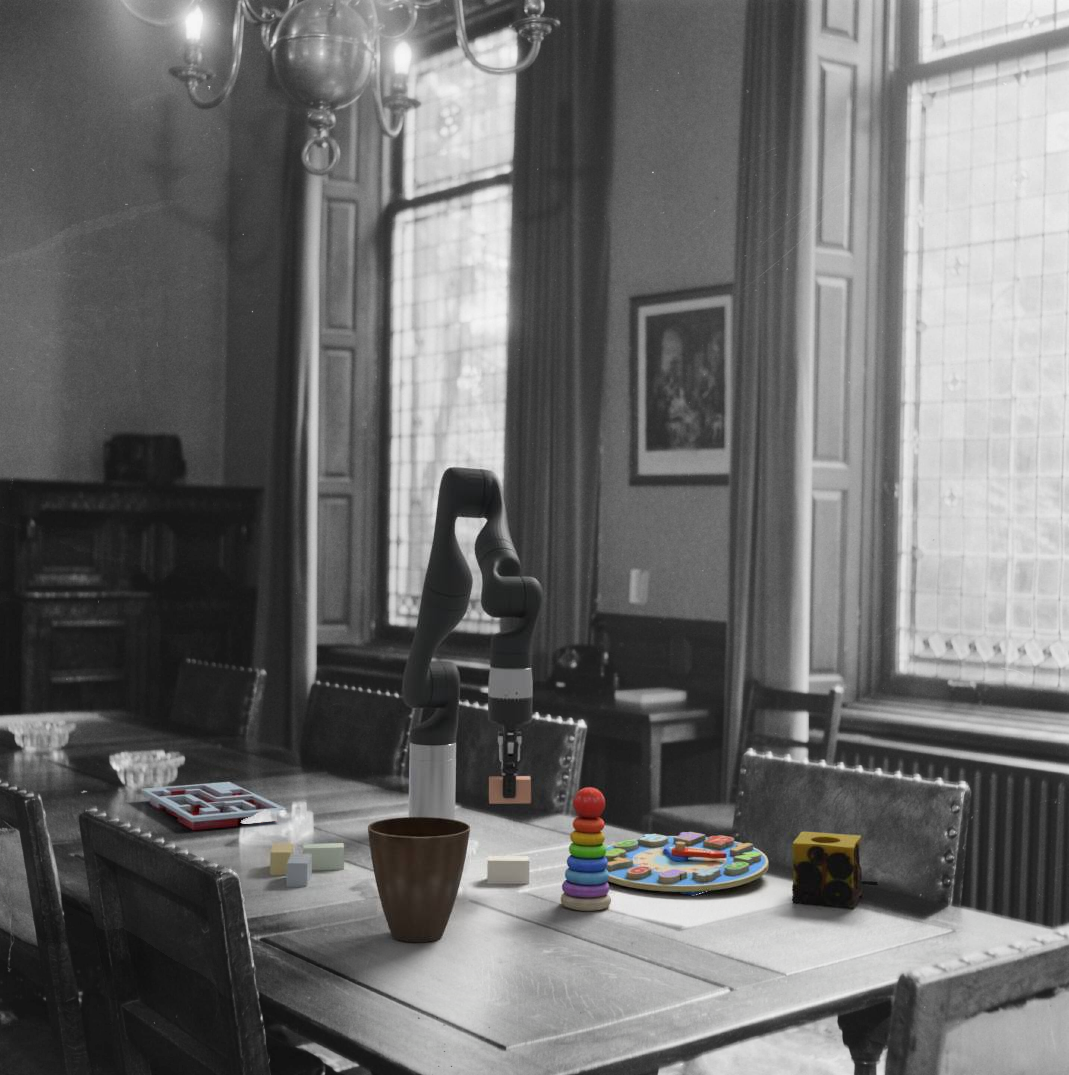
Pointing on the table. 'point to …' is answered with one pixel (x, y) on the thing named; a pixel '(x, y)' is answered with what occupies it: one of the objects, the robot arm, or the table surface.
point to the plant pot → (418, 873)
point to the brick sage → (326, 855)
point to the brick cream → (508, 870)
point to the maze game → (208, 804)
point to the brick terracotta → (521, 790)
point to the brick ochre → (280, 858)
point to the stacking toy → (587, 856)
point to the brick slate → (299, 870)
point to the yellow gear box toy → (827, 869)
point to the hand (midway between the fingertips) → (508, 795)
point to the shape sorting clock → (684, 863)
